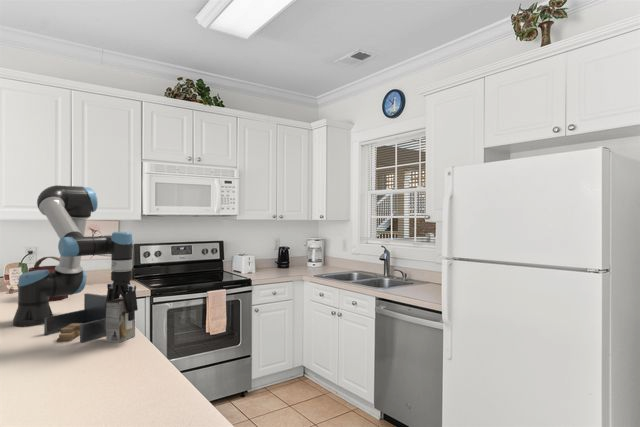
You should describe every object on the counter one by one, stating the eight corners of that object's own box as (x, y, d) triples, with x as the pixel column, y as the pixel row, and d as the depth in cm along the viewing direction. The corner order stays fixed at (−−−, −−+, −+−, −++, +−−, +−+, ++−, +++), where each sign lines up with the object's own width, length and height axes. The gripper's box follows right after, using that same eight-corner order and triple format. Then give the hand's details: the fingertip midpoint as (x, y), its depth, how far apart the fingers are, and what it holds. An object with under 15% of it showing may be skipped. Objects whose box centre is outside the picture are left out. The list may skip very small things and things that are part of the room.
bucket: (80, 298, 242) (80, 256, 242) (38, 305, 223) (39, 259, 223) (59, 294, 255) (60, 254, 255) (18, 300, 236) (19, 257, 236)
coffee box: (121, 335, 168) (121, 296, 168) (135, 336, 167) (135, 297, 167) (105, 342, 159) (105, 301, 159) (119, 343, 158) (119, 301, 158)
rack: (44, 334, 168) (44, 300, 168) (87, 324, 185) (87, 293, 185) (82, 342, 158) (82, 306, 158) (124, 330, 175) (124, 298, 175)
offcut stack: (69, 333, 171) (70, 323, 171) (84, 333, 172) (84, 322, 172) (56, 342, 159) (56, 331, 159) (71, 342, 160) (71, 330, 160)
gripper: (95, 269, 164) (94, 326, 164) (132, 273, 155) (131, 333, 155) (112, 267, 171) (111, 322, 171) (148, 270, 162) (147, 328, 162)
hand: (121, 327), depth 163 cm, fingers open, 8 cm apart
